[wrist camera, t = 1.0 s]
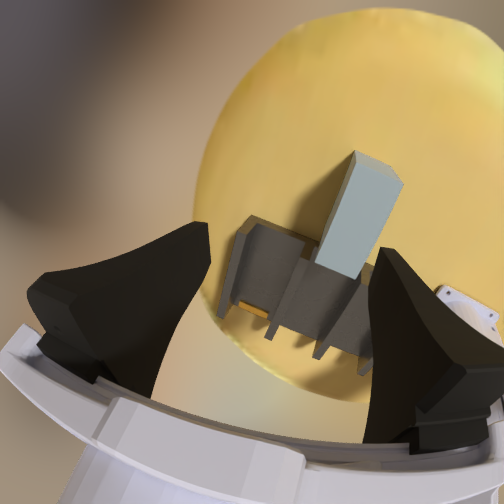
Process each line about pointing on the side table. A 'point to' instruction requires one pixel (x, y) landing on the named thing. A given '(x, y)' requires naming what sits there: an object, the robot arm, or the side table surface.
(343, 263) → the light grey rectangular block
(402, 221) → the side table surface
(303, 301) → the rack
